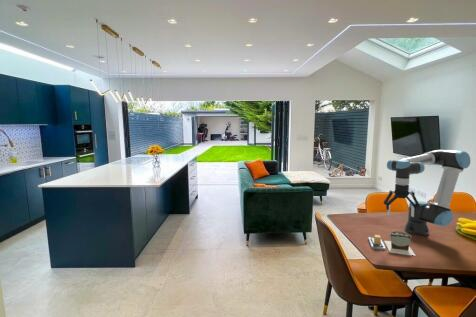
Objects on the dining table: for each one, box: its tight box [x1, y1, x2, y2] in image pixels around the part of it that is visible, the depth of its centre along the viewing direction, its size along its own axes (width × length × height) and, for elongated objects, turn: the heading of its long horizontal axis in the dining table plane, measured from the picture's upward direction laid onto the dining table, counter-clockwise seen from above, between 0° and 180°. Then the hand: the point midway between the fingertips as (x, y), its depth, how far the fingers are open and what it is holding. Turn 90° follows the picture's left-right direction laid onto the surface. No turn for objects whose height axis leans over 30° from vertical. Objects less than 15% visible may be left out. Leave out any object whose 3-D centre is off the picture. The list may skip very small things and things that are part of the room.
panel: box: [367, 236, 387, 251], centre depth 172 cm, size 8×15×2 cm, turn 161°
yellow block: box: [373, 234, 382, 245], centre depth 169 cm, size 3×4×5 cm
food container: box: [389, 230, 413, 251], centre depth 166 cm, size 12×6×10 cm, turn 72°
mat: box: [383, 240, 417, 257], centre depth 167 cm, size 14×18×1 cm
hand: (400, 215), depth 167 cm, fingers open, 13 cm apart
